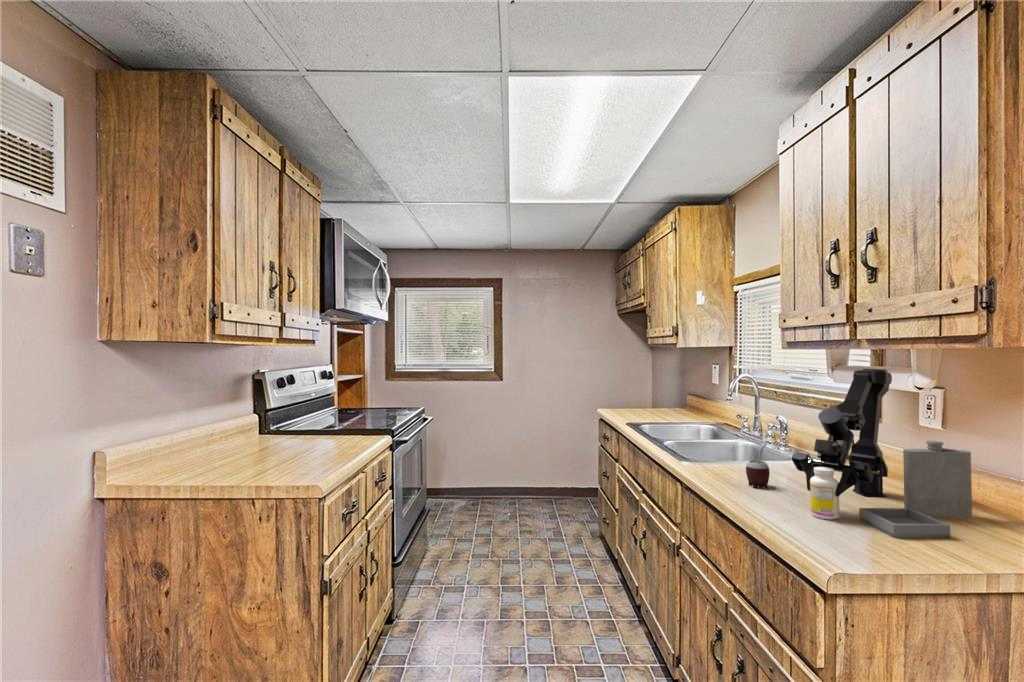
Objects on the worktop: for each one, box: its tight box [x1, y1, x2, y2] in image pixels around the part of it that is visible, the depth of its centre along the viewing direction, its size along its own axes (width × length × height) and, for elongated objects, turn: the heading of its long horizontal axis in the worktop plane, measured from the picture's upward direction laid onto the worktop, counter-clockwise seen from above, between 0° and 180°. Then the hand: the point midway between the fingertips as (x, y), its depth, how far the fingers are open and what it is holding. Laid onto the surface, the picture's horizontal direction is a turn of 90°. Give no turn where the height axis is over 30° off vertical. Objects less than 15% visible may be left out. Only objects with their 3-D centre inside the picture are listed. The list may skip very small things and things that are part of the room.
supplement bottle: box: [809, 467, 840, 521], centre depth 138 cm, size 7×7×13 cm
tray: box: [858, 507, 951, 539], centre depth 128 cm, size 13×13×3 cm
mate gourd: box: [745, 443, 770, 489], centre depth 167 cm, size 8×8×15 cm
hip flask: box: [902, 439, 973, 519], centre depth 138 cm, size 16×4×20 cm, turn 82°
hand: (822, 492), depth 137 cm, fingers closed on supplement bottle, 7 cm apart
